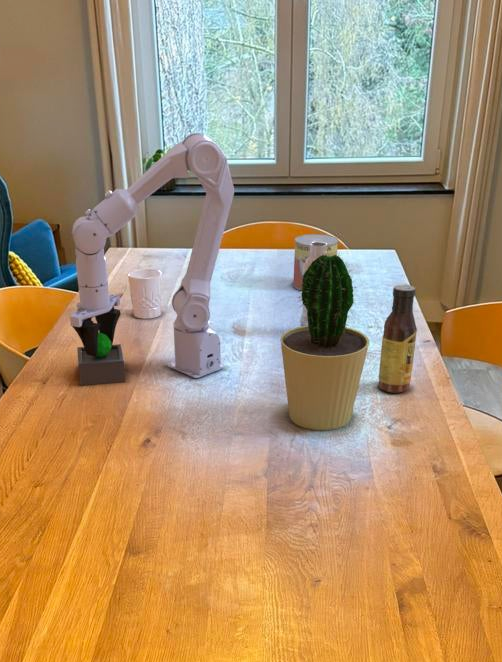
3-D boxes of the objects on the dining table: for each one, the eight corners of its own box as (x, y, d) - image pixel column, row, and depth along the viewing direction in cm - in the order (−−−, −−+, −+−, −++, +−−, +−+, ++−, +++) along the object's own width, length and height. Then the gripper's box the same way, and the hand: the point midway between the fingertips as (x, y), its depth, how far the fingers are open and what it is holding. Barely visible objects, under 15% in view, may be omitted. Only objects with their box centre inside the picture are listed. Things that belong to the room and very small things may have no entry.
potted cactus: (367, 403, 151) (382, 241, 135) (356, 440, 138) (371, 267, 122) (287, 394, 154) (293, 236, 138) (269, 429, 142) (274, 260, 126)
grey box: (122, 364, 168) (120, 344, 165) (125, 381, 160) (123, 360, 158) (79, 368, 166) (77, 347, 164) (80, 385, 159) (78, 363, 156)
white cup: (148, 322, 189) (146, 280, 184) (124, 315, 193) (121, 274, 188) (170, 313, 195) (168, 272, 189) (146, 307, 199) (143, 266, 193)
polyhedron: (82, 358, 160) (80, 335, 158) (97, 350, 164) (94, 328, 161) (103, 362, 158) (100, 339, 156) (117, 354, 162) (115, 331, 159)
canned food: (288, 290, 209) (290, 243, 202) (297, 277, 218) (299, 232, 211) (331, 293, 206) (334, 246, 200) (338, 281, 215) (342, 235, 209)
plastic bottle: (327, 328, 185) (333, 240, 174) (327, 338, 179) (333, 248, 169) (299, 327, 186) (303, 239, 175) (299, 337, 180) (303, 247, 169)
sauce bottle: (409, 395, 154) (422, 294, 143) (376, 393, 155) (387, 292, 144) (409, 382, 159) (422, 283, 148) (378, 379, 160) (388, 281, 149)
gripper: (96, 270, 160) (102, 335, 167) (53, 291, 149) (62, 359, 156) (126, 275, 157) (131, 340, 165) (84, 296, 146) (92, 365, 154)
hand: (99, 350), depth 160 cm, fingers closed on polyhedron, 5 cm apart
